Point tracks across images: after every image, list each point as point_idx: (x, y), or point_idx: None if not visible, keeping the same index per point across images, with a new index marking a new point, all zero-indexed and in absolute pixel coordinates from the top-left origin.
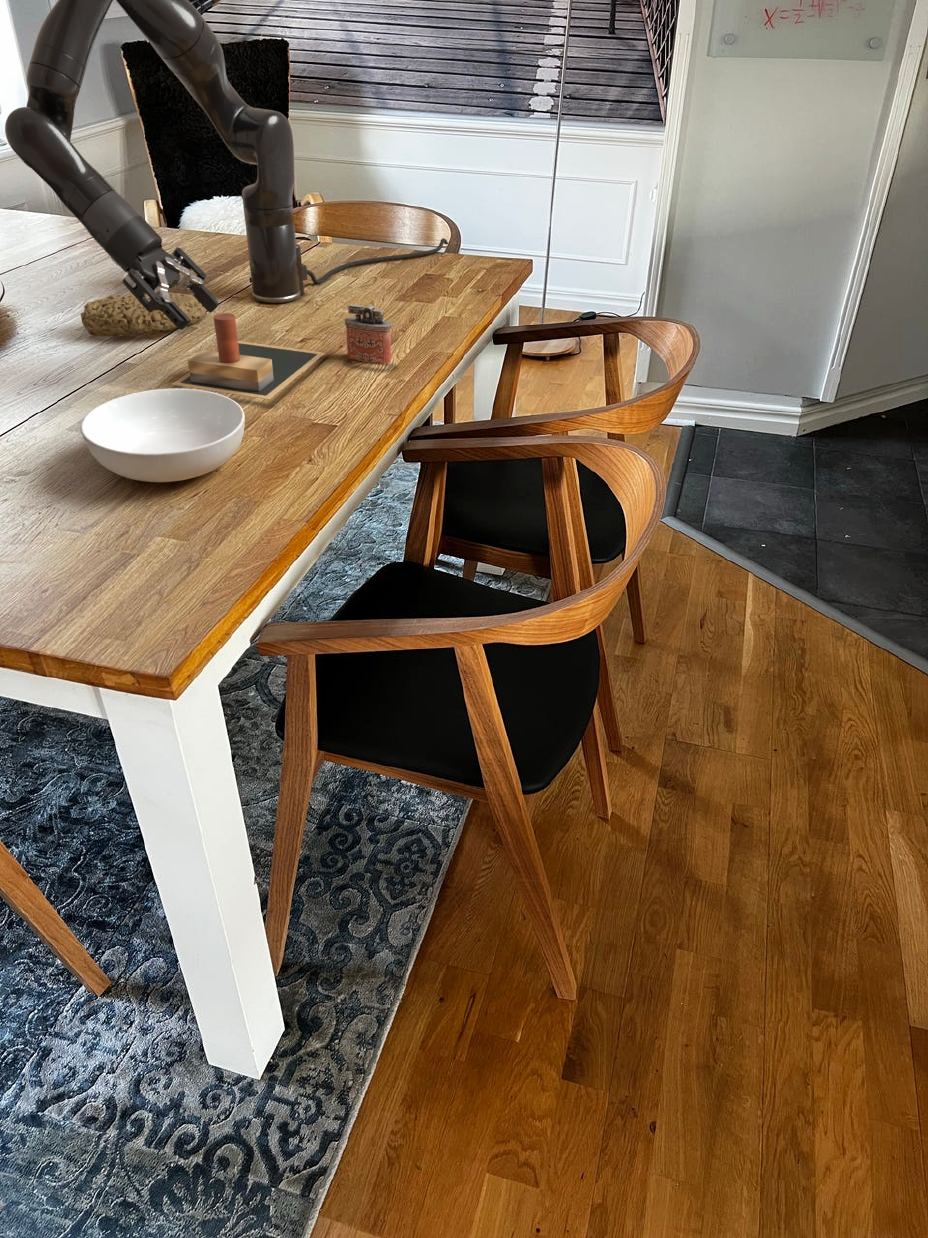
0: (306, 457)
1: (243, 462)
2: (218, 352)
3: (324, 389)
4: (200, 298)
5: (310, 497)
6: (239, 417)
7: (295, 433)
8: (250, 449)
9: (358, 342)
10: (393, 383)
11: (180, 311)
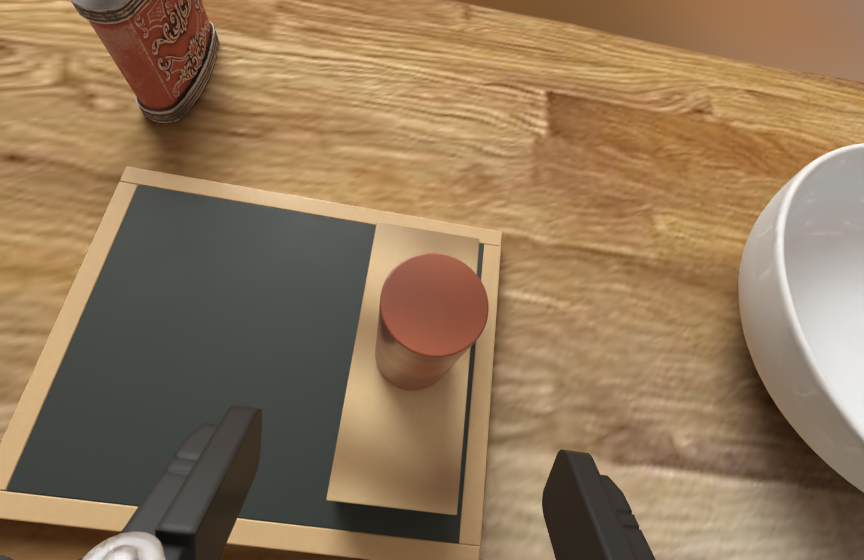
0: (691, 119)
1: None
2: (440, 377)
3: (362, 145)
4: (223, 534)
5: (805, 90)
6: (827, 168)
7: (609, 156)
8: (709, 220)
9: (171, 33)
10: (299, 20)
11: (602, 505)
